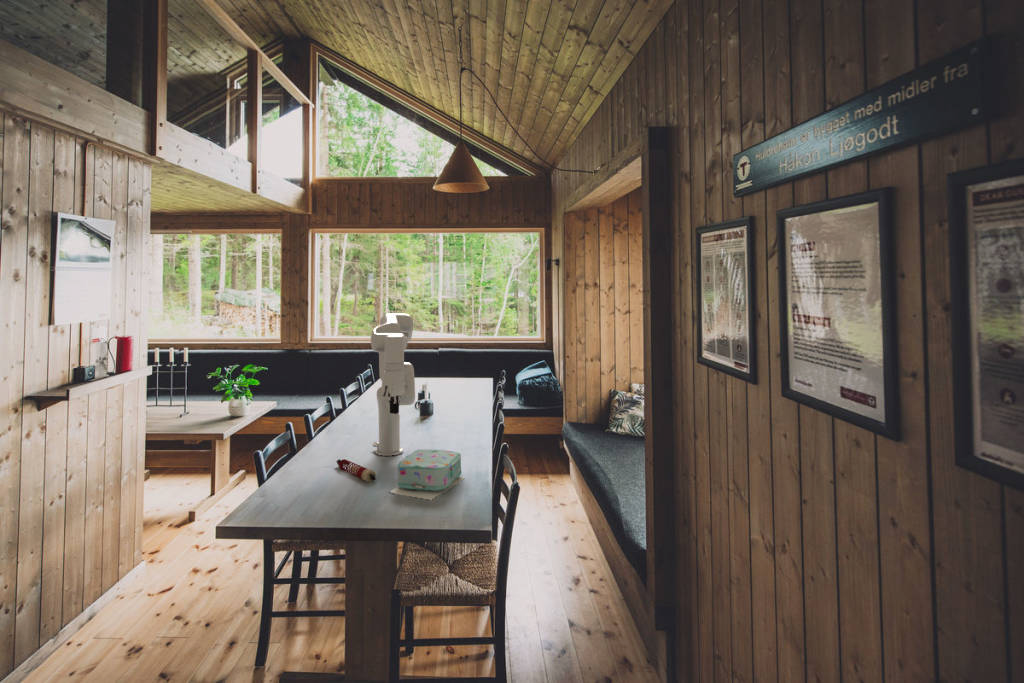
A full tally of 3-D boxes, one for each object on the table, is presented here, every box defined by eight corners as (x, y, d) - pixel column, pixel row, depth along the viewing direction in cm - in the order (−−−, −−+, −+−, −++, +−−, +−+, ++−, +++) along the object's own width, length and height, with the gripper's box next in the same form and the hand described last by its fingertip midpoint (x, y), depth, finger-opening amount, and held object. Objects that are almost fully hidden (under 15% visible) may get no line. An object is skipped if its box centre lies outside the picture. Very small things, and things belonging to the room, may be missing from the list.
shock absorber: (331, 460, 223) (367, 476, 202) (340, 454, 226) (377, 469, 205) (335, 469, 224) (371, 486, 203) (344, 463, 227) (381, 479, 206)
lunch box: (391, 491, 194) (446, 498, 190) (391, 464, 193) (447, 470, 189) (418, 469, 220) (467, 474, 216) (418, 445, 220) (468, 450, 215)
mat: (388, 493, 194) (388, 492, 194) (426, 472, 218) (426, 471, 218) (431, 500, 187) (431, 499, 187) (464, 478, 211) (464, 477, 211)
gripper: (397, 364, 214) (397, 408, 216) (374, 368, 200) (374, 416, 202) (413, 365, 211) (412, 410, 213) (391, 370, 197) (391, 418, 199)
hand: (394, 413), depth 207 cm, fingers closed
